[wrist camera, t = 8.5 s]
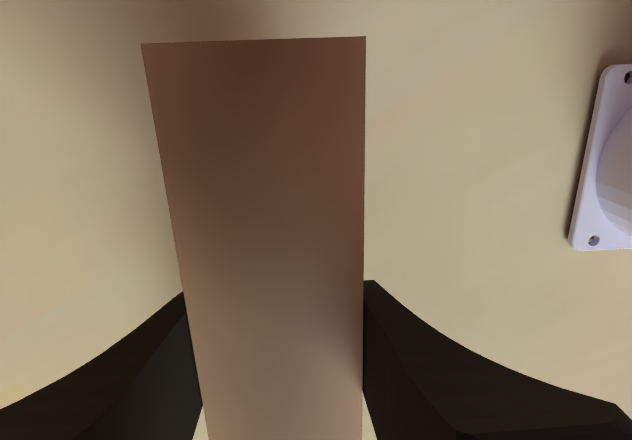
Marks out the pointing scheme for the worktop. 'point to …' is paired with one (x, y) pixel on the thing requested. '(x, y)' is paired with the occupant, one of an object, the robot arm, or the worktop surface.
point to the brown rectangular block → (268, 227)
